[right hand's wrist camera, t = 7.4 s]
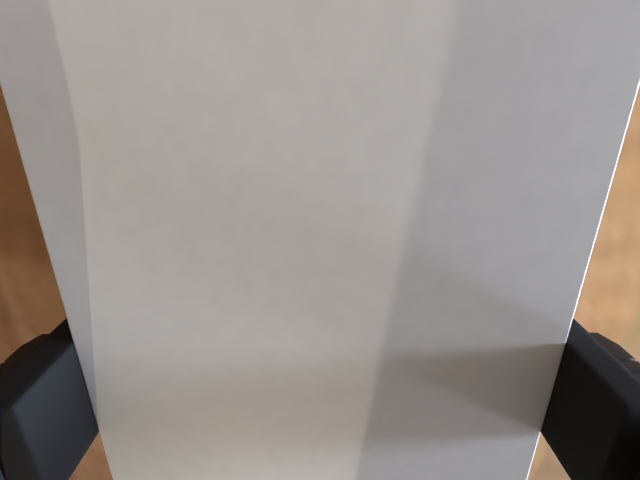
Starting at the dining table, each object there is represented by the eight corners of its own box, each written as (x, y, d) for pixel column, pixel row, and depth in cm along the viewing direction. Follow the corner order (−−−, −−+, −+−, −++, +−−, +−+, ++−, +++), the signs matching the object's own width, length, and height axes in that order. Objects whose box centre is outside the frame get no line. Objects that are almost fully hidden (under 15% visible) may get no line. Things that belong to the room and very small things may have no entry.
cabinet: (127, -240, 11) (-304, -969, 3) (512, -241, 11) (942, -969, 3) (203, 326, 18) (117, 502, 11) (437, 327, 18) (521, 502, 11)
